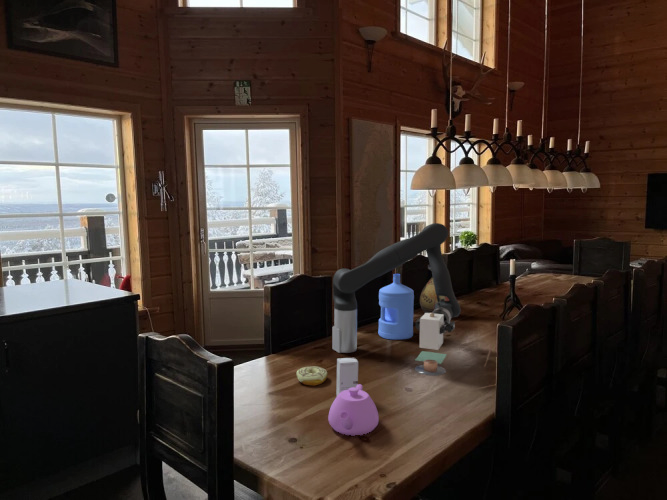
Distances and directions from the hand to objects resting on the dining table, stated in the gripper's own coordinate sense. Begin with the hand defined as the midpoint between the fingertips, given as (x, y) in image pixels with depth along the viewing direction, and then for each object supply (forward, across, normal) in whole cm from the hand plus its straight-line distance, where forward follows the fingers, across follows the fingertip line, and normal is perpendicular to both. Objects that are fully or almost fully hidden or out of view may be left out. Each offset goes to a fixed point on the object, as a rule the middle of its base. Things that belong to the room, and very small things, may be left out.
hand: (430, 330), depth 173 cm
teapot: (+49, -11, +15) cm, 53 cm away
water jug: (-40, -24, +16) cm, 50 cm away
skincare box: (+32, -19, +15) cm, 40 cm away
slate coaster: (-2, 0, +16) cm, 16 cm away
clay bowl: (-2, 0, +15) cm, 15 cm away
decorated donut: (+23, -36, +16) cm, 45 cm away
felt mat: (-16, -3, +16) cm, 23 cm away
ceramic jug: (-85, -15, +17) cm, 88 cm away
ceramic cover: (-2, 0, +6) cm, 7 cm away
